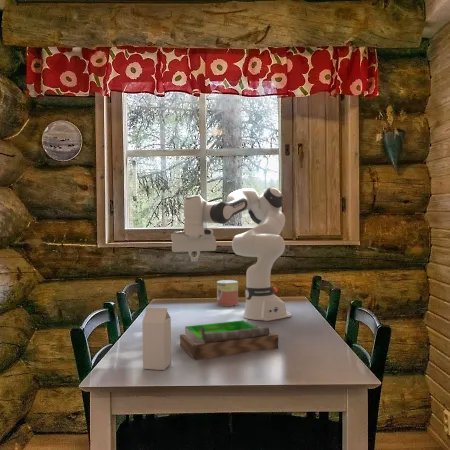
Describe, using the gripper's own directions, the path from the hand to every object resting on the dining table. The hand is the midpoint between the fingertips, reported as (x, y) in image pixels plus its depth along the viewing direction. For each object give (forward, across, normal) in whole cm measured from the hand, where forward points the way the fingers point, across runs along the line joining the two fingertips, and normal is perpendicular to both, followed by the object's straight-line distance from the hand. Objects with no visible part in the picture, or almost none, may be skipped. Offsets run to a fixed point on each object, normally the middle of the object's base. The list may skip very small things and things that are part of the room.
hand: (194, 261), depth 210 cm
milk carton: (+26, -18, -60) cm, 68 cm away
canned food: (+28, +20, +32) cm, 47 cm away
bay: (+26, +8, -44) cm, 52 cm away
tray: (+27, +8, -38) cm, 48 cm away
